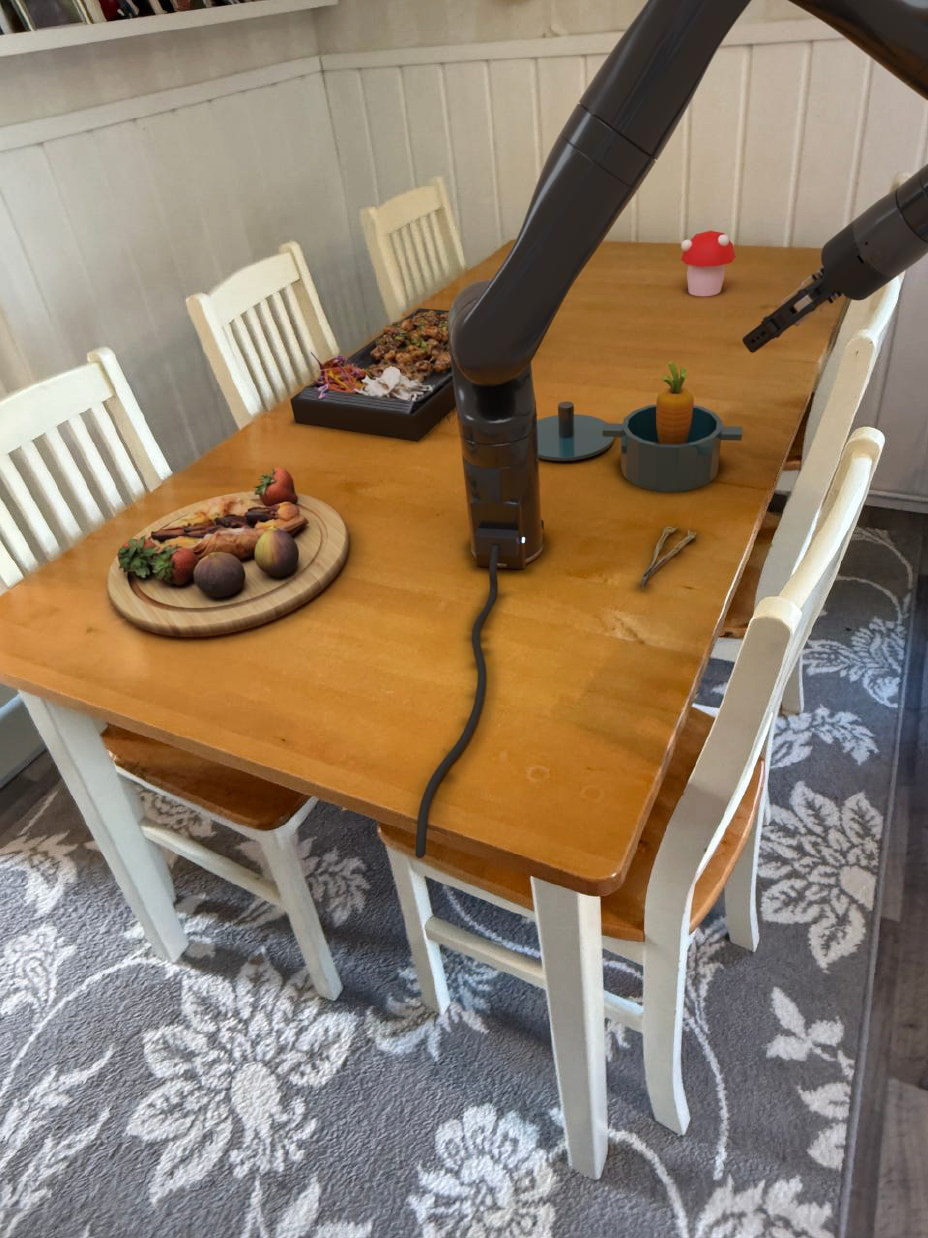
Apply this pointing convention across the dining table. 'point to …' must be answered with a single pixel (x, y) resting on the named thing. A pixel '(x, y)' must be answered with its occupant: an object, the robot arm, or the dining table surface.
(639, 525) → the dining table surface
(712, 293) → the mushroom
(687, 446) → the saucepan
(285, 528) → the wooden plate
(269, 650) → the dining table surface
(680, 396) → the carrot
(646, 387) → the dining table surface
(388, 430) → the food platter
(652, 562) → the tongs
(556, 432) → the pan lid
